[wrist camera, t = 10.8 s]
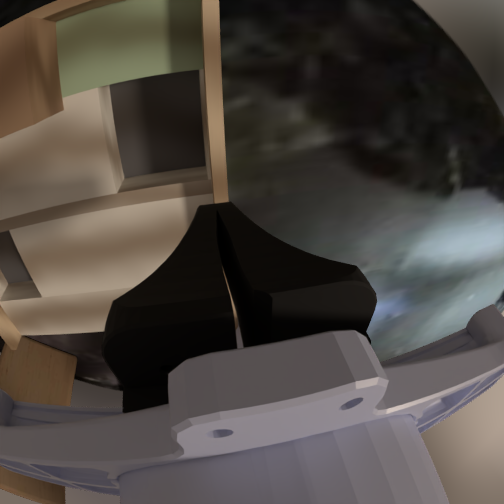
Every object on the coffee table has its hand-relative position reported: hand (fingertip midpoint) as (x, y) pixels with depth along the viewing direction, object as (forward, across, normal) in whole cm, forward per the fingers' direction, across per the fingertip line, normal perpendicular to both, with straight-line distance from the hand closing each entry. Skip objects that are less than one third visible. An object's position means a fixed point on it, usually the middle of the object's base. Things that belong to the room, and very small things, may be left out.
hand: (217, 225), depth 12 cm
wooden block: (+11, +26, +23) cm, 36 cm away
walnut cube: (+7, +11, -8) cm, 16 cm away
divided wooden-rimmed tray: (+10, +11, +1) cm, 15 cm away
